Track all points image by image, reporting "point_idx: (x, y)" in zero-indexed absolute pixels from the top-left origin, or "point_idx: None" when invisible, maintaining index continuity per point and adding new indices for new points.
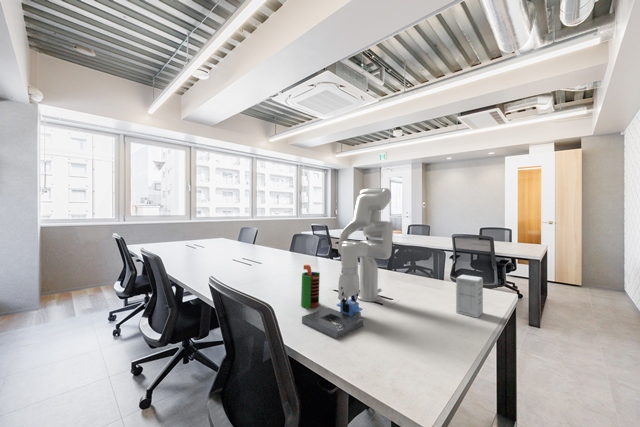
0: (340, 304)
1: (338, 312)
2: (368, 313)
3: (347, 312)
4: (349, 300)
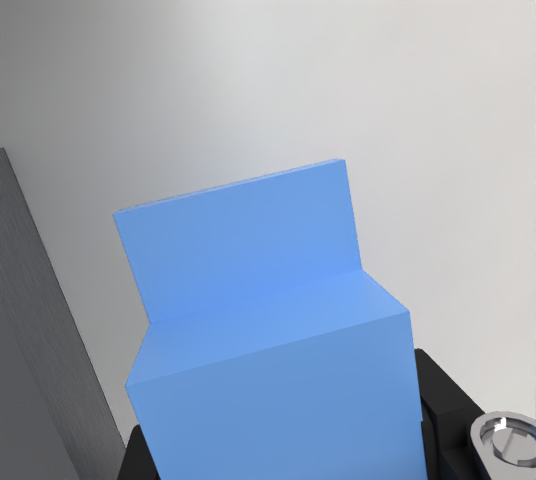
0: (145, 338)
1: (12, 454)
2: (495, 389)
3: None
4: (388, 430)
